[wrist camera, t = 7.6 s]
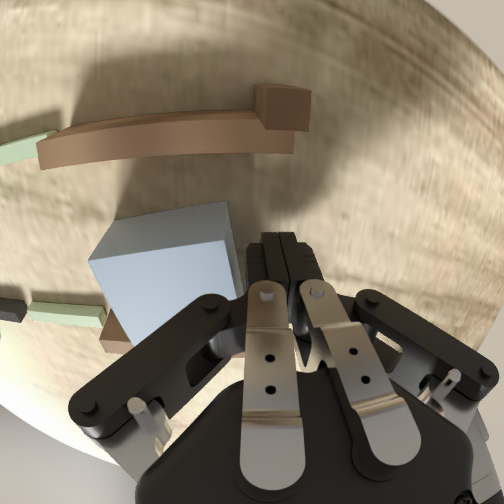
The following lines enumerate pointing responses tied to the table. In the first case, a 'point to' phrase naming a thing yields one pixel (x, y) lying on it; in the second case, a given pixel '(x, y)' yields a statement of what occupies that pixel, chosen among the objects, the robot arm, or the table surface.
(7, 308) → the frame
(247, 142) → the channel
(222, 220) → the block
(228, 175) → the table surface
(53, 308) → the rails
